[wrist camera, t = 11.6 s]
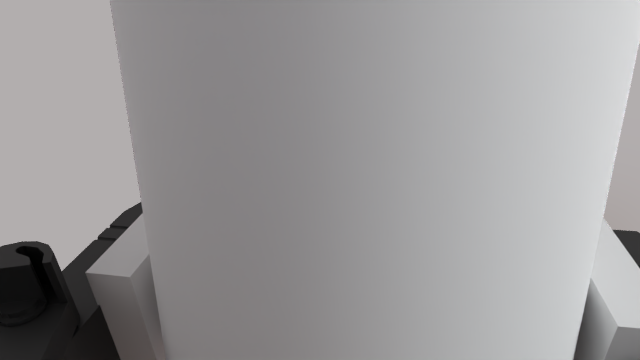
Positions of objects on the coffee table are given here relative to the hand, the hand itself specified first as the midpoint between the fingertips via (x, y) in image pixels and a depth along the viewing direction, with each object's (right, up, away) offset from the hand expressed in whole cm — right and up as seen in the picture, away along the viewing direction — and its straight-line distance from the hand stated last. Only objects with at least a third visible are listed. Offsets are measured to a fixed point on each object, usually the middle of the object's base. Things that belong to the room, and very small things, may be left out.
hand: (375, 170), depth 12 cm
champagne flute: (0, -14, +2) cm, 14 cm away
